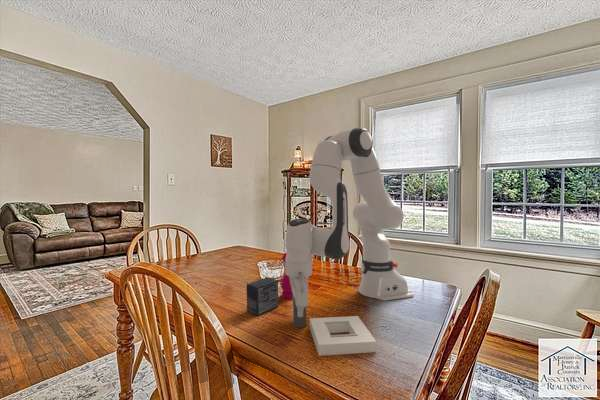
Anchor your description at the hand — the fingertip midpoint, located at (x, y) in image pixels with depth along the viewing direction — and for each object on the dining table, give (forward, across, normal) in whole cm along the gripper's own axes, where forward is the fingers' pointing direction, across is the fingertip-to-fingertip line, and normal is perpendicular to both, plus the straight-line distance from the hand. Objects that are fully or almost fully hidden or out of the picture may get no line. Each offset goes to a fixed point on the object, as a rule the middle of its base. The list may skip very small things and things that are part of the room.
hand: (298, 310), depth 98 cm
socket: (+5, -11, -11) cm, 16 cm away
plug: (+5, 0, 0) cm, 5 cm away
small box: (+5, +13, +12) cm, 18 cm away
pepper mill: (+5, +25, +1) cm, 25 cm away
